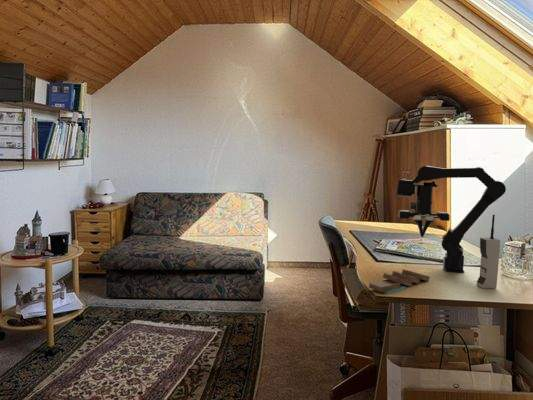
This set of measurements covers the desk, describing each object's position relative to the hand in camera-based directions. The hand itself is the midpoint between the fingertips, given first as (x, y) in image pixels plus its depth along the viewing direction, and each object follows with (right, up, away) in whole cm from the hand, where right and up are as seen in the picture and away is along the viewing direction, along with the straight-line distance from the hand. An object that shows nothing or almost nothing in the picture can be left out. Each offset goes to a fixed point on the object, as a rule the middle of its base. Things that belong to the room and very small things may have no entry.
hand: (421, 236), depth 171 cm
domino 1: (-20, -13, -29) cm, 37 cm away
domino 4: (-10, -13, -21) cm, 27 cm away
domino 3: (-17, -15, -27) cm, 35 cm away
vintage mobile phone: (+13, -15, -24) cm, 32 cm away
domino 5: (-6, -13, -17) cm, 22 cm away
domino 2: (-14, -14, -24) cm, 31 cm away
